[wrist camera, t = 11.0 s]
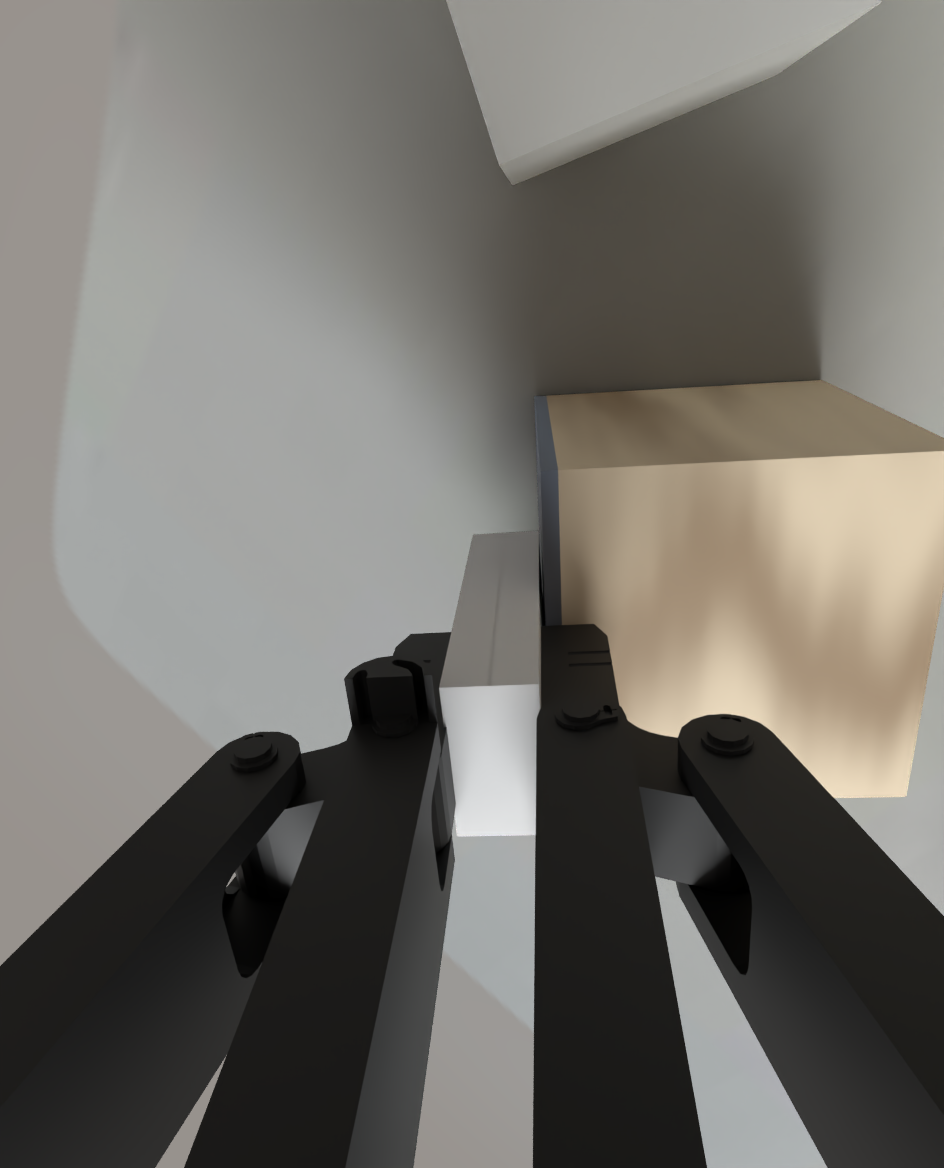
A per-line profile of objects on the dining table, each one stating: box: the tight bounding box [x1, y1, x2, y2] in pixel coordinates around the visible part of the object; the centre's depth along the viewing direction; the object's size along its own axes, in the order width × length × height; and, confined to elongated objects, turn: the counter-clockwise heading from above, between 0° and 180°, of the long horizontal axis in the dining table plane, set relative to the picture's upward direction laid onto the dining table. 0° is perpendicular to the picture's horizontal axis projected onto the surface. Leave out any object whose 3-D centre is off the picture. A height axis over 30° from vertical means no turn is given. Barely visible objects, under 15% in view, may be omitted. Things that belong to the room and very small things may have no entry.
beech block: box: [534, 380, 944, 798], centre depth 18 cm, size 7×7×7 cm
